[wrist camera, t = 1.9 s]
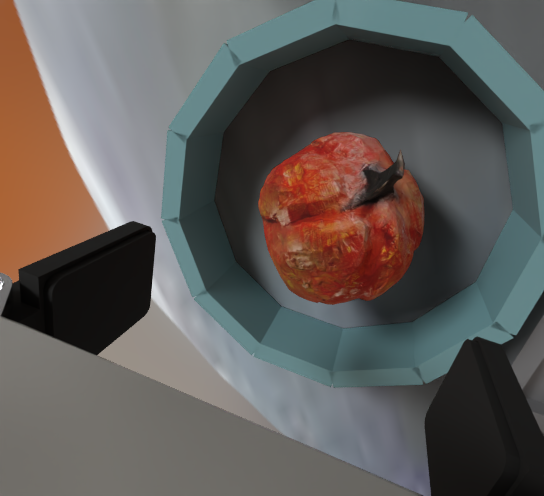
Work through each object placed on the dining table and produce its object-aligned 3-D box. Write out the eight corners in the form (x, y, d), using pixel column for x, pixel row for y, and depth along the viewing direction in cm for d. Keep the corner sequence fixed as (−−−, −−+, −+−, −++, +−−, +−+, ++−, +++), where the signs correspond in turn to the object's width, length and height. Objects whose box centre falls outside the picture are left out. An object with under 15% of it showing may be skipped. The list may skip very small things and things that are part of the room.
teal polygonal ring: (223, -11, 18) (179, -37, 14) (619, 62, 14) (691, 50, 11) (188, 286, 25) (153, 317, 22) (445, 380, 22) (454, 435, 18)
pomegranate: (365, 267, 23) (523, 225, 14) (277, 338, 20) (408, 342, 11) (301, 166, 23) (420, 57, 14) (202, 221, 20) (273, 128, 11)
